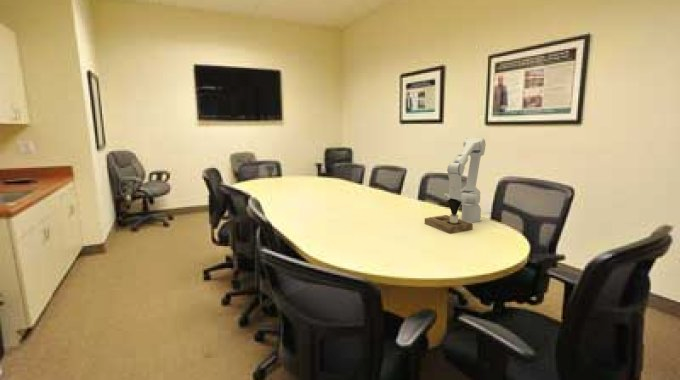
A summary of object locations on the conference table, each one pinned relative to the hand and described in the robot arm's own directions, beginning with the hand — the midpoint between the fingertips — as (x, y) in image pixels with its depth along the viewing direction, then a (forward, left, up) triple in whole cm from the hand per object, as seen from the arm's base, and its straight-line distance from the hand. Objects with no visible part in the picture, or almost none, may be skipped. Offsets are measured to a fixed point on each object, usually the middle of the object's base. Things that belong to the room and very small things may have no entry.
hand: (454, 214), depth 186 cm
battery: (0, 0, -8) cm, 8 cm away
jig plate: (0, -4, -8) cm, 9 cm away
